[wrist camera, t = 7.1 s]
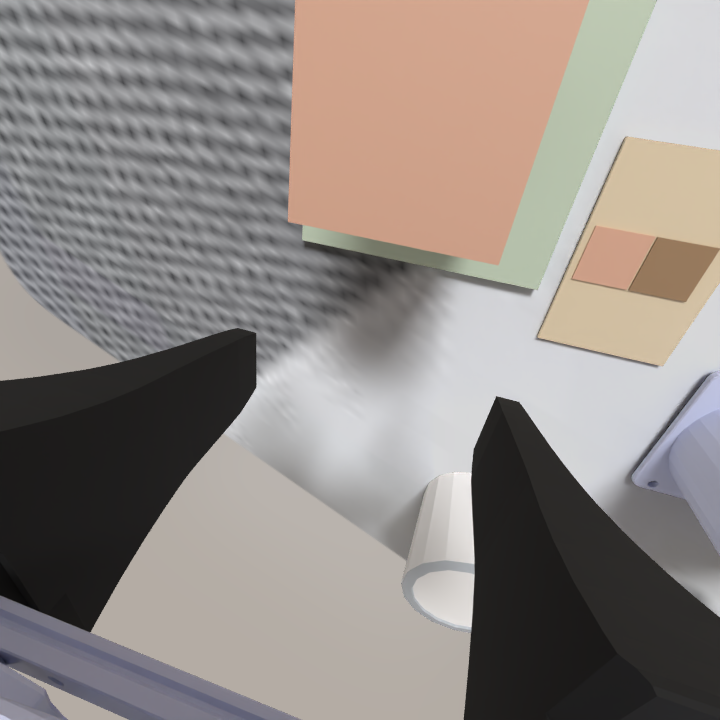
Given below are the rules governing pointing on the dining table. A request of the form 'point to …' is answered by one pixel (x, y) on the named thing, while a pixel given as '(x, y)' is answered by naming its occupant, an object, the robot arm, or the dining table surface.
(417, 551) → the white cup
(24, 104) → the dining table surface
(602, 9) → the plate
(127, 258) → the dining table surface
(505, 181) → the terracotta block
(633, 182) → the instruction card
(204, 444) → the robot arm
